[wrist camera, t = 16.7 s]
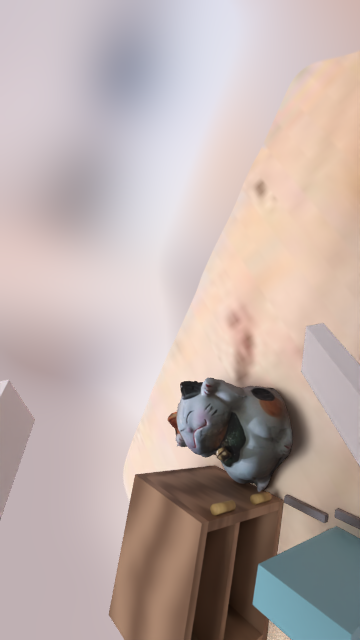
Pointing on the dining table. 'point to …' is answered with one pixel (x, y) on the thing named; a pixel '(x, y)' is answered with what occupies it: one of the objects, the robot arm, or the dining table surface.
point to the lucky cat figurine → (234, 427)
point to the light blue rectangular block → (313, 588)
